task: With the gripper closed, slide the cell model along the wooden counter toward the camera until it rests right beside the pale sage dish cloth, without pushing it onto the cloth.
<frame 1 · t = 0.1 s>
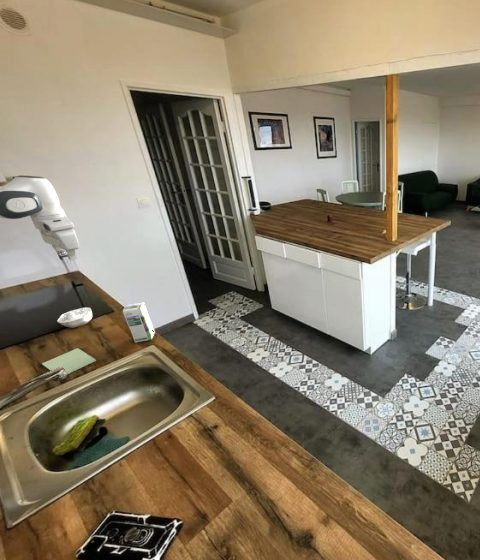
hand: (67, 257, 118), 31 cm above the countertop, tool pointing down, fingers open, 8 cm apart
dish cloth: (69, 362, 110), on the countertop
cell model: (80, 324, 132), on the countertop
syrup box: (145, 337, 124), on the countertop
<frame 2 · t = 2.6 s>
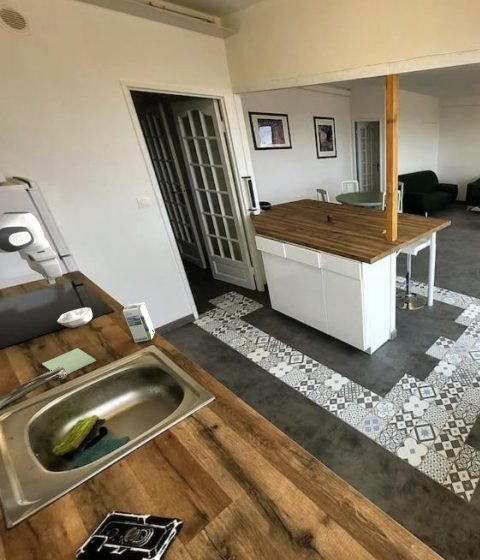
hand: (52, 283, 128), 17 cm above the countertop, tool pointing down, fingers closed
nothing on the countertop moved.
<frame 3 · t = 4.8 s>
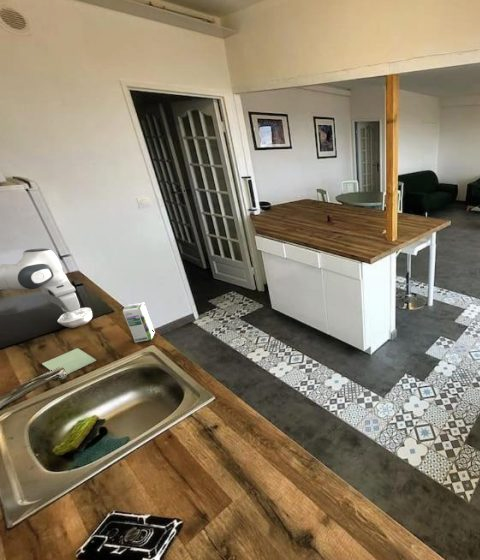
hand: (69, 314, 133), 3 cm above the countertop, tool pointing down, fingers closed
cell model: (80, 324, 132), on the countertop, touching gripper
everything else where it was.
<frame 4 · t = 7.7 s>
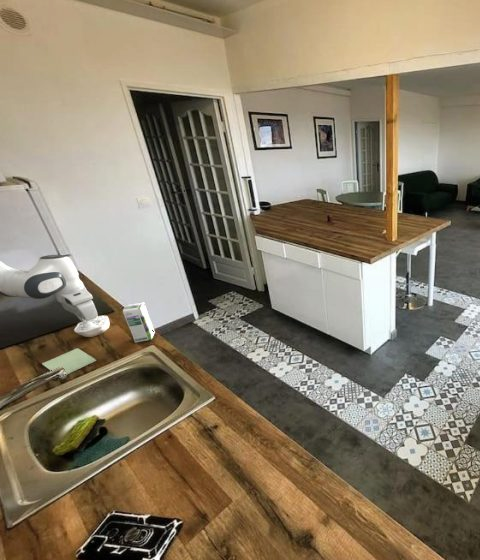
hand: (85, 322, 128), 3 cm above the countertop, tool pointing down, fingers closed
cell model: (97, 333, 126), on the countertop, touching gripper
everything else where it was.
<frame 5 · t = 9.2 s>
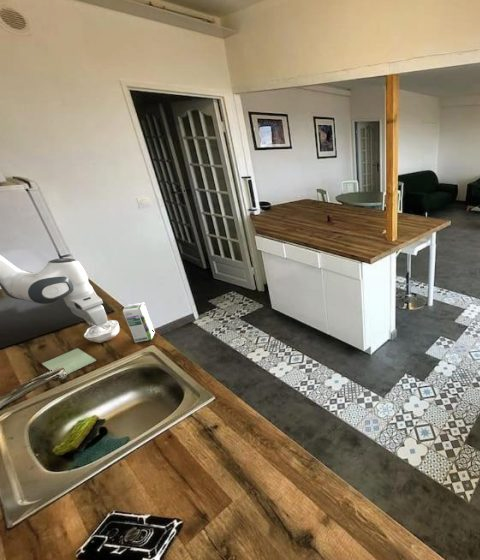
hand: (94, 327, 125), 3 cm above the countertop, tool pointing down, fingers closed
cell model: (106, 338, 123), on the countertop, touching gripper
everything else where it was.
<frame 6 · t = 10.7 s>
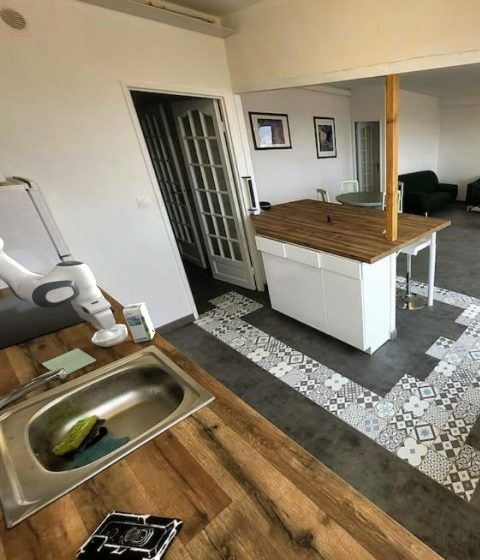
hand: (102, 331, 122), 3 cm above the countertop, tool pointing down, fingers closed
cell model: (114, 343, 121), on the countertop, touching gripper
everything else where it was.
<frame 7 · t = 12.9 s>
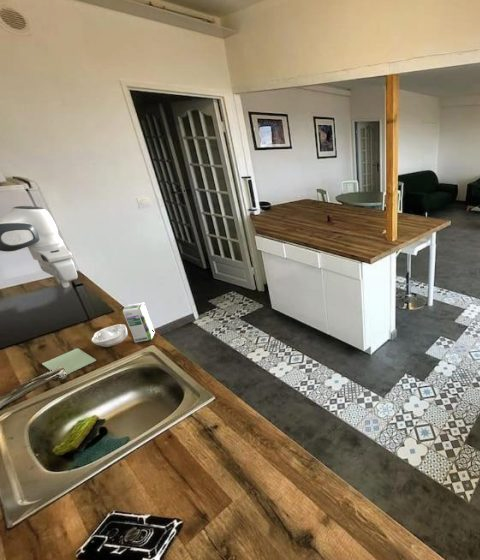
hand: (65, 286, 116), 22 cm above the countertop, tool pointing down, fingers closed
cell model: (114, 343, 121), on the countertop
everything else where it was.
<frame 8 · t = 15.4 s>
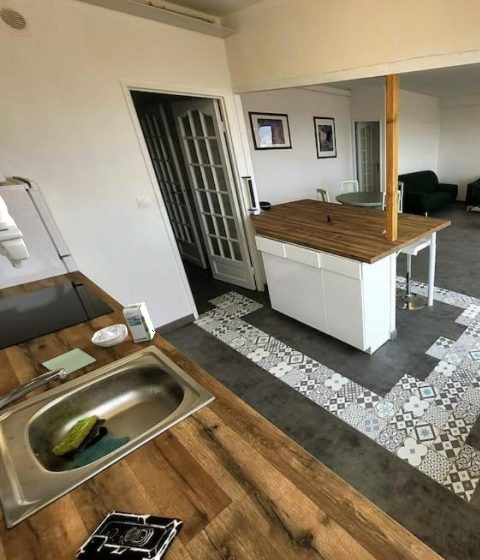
hand: (18, 267, 113), 29 cm above the countertop, tool pointing down, fingers closed
nothing on the countertop moved.
at the end: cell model inside the target area on the countertop beside the dish cloth (0.8 cm from its centre), on the countertop; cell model tilted 0°; dish cloth moved 0.0 cm from its start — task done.
